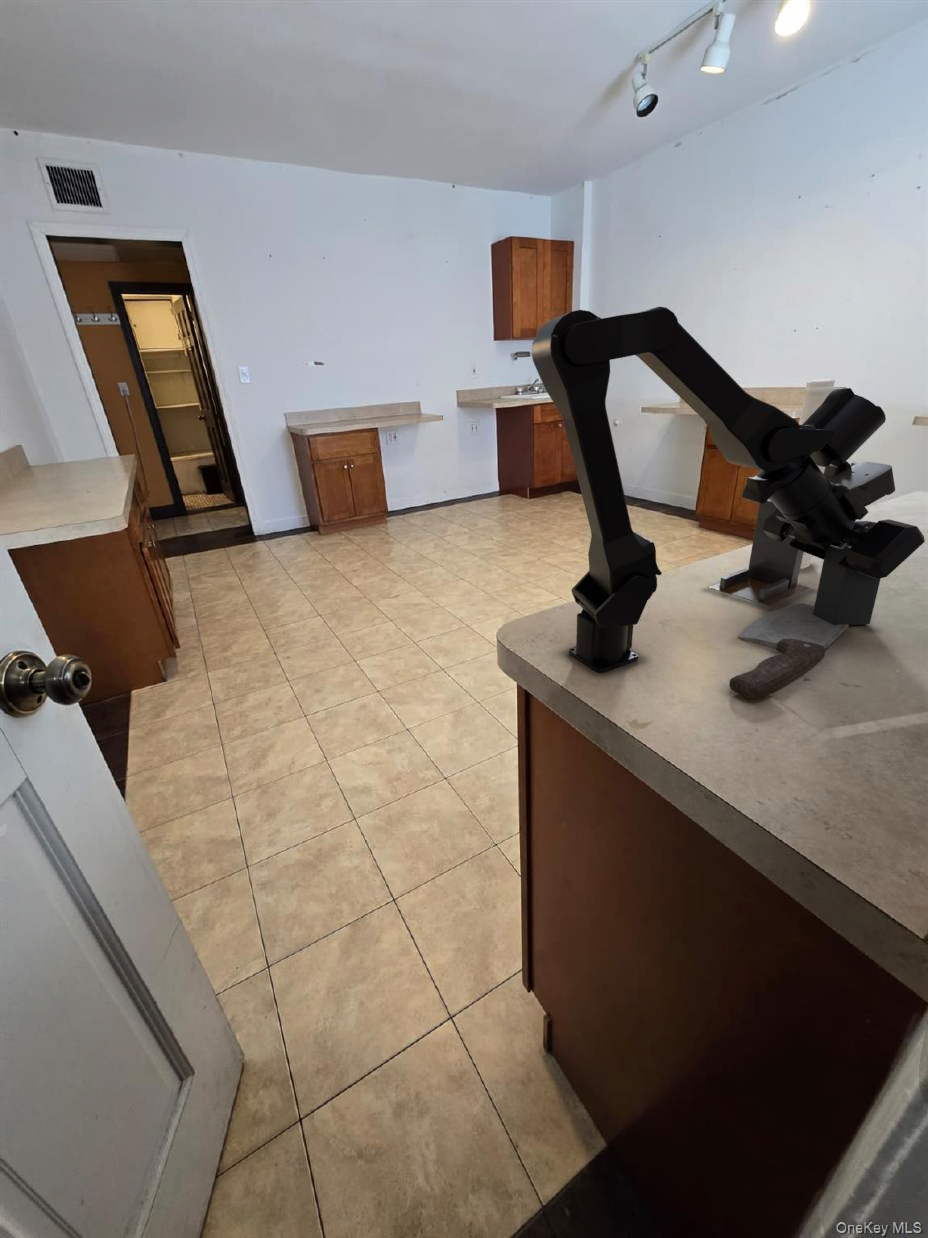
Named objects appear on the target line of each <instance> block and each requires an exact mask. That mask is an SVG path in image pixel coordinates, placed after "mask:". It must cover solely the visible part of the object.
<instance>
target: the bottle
mask: <svg viewBox="0 0 928 1238" xmlns="http://www.w3.org/2000/svg"><path fill="white" fill-rule="evenodd" d="M835 383H836V380H835V379H834V378H824V379H823V378H822V379H809V380H808V381H806V385H805V388H804V390H803V394H804V396H803V400H802V406H801V411H800V416H799V420H798V423H799V425H802V424H803V423H804V422H805V421H806V420H807V419H808V418H809V417H810V416H811V415H812V414H813V413H814V412H815V411H816V410H817V409H818V408H819V407H820V405H821V404H822V403H823V402H824V400H825V399H826V397H827V396H828V395H829V394H830V393H831V392H832V391H833V390H834V389H835V388H836V387H835ZM817 466H818V465H817ZM818 467H819V469H820V470H821V471H822V473H823V474H824V470H825V467H822V466H818ZM813 557H814V556H813V555H810V554H808V553H805V552H804V553H803V558H802V562H801V567H800V570H802V569H803V570H804V569H806V568H809V567H810V566H811V562H812V560H813Z"/></svg>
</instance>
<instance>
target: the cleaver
mask: <svg viewBox="0 0 928 1238" xmlns="http://www.w3.org/2000/svg"><path fill="white" fill-rule="evenodd" d="M814 606H815V605H812V604H811V605H810V604H806V603H802V602H801V603H800V602H793V603H790V604H788V605H786V606H782V607H781V608H777V609H776V610H774V611H771V612H769V613H767V614H765V615H763V616H762V617H760V618H758V619H756V620H754V621H753V622H752V623H750V624H749V625H748V626H747V627H746V628H744V629H743V631H742V632H741V633H740V634H739V635H738V636H737V637H738V638H739V639H741V640H744V641H746V642H748V643H752V644H757V645H760V646H764V647H767V648H770V649H773V650H776V651H778V652H779V654H776V655H772V656H770V657H768V658H765V659H763V660H761V661H760V662H759V663H758V664H757V665H756V667H755V668H753V669H752V670H749V671H746V672H743V673H740V674H737V675H735V676H733V677H732V678H730V679H729V682H728V683H729V685H728V686H729V689H730V691H732V692H734V693H736V694H739V695H741V696H744V697H746V698H748V699H749V698H750V699H759V698H762V697H764V696H767V695H769V694H771V693H773V692H775V691H777V690H780V689H781V688H782V687H784V686H786V685H787V684H789V683H791V682H793V681H795V680H796V679H797V678H799V677H800V676H802V675H803V674H805V673H806V672H808V671H810V669H812V668H813V667H814V666H816V665H817V664H818V663H820V662H821V660H823V658H824V657H825V654H826V649H828V648H829V647H830V646H832V644H833V643H834V642H835V641H836V640H837V639H838V638H840V636H841V635H843V633H845V631H846V630H847V629H848V628H849V626H850V625H848V624H841V625H833V624H831V623H829V622H827V621H825V620H823V619H821V618H819V617H817V616H815V615H813V611H814Z"/></svg>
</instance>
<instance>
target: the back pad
mask: <svg viewBox="0 0 928 1238" xmlns="http://www.w3.org/2000/svg"><path fill="white" fill-rule="evenodd" d="M868 522H871V521H869V520H858V521H857V520H856V521H855V523H857V524H860V525H864V524H866V523H868ZM873 522H874V523H877V521H873ZM848 550H849V548H848V547H846V548H844V549H838V548H835V547H833V546H829V547H828V548H827V549H826V551H825V556H824V560H823V561H822V567H821V572H820V577H819V581H818V587H817V592H816V597H815V602H814V605H813V606H814V611H813V615H815V616H817V617H819V618H821V619H823V620H825V621H827V622H829V623H831V624H833V625H841V624H848V625H849V626H859V625H870V624H871V621H872V616H873V612H874V607H875V603H876V600H877V595H878V591H879V587H880V583H881V579H882V578H880V579H876V580H875V579H873V578H870V577H868V576H865V575H862V574H860V573H857V572H855V571H852V570H850V569H847V568H845V567H842V566H840V565H838V563H839V562H840V561H841V560H842V559H843V558H844V557H845V556H846V555H847V554H848V552H847V551H848Z"/></svg>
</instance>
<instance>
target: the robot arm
mask: <svg viewBox="0 0 928 1238" xmlns="http://www.w3.org/2000/svg"><path fill="white" fill-rule="evenodd" d="M632 356H636V357H637V358H639V360H640V361H642V362H643V364H644V365H646V366H647V367H648V368H649V369H650V370H651V371H652V372H653V373H654V374H655V375H656V376H657V377H658V378H659V379H660V380H661V381H662V382H664V383H665V385H666V386H668V387H669V388H670V389H671V390H672V391H673V392H674V394H676V395H677V396H678V397H679V398H680V399H682V400H683V402H684V403H685V404H687V406H688V407H690V408H691V409H692V410H693V411H694V412H695V413H696V414H697V415H698V416H699V417H700V418H701V419H702V420H703V421H704V423H705V424H706V425H707V427H708V429H709V432H710V436H711V440H712V442H713V444H714V445H715V447H716V448H717V450H718V451H719V453H720V454H721V456H722V457H723V458H724V459H725V461H726V462H728V463H729V464H731V465H734V466H739V467H745V468H748V469H752V470H753V469H755V470H759V472H758V473H757V474H756V475H755V476H752V477H751V476H749V477H747V478H746V480H745V481H746V484H745V487H744V488H743V491H742V494H741V498H742V499H744V500H746V501H749V502H752V503H756V504H764V503H765V502H766V501H767V500H768V499H770V500H771V501H772V502H773V504H774V505H775V506H776V507H777V509H776V510H775V511H774V512H773V513H772V514H771V515H770V516H769V517H768V518H767V519H766V520H765V521H764V526H763V531H764V532H765V533H766V534H767V535H768V537H769V538H771V539H774V540H777V541H779V542H782V543H783V542H784V541H785V540H786V538H787V537H786V536H788V537H791V538H792V539H793V540H792V541H791V542H790V543H789V546H790V547H792V548H795V549H798V550H800V551H803V552H805V553H808V554H810V555H813V557H816V558H818V559H821V560H823V561H824V556H825V551H826V549H827V548H828V547H829V546H833V547H835V548H838V549H844V548H846V547H848V548H849V550H848V551H847V552H848V554H847V555H846V556H845V557H844V558H843V559H842V560H841V561H840V562H839V563H838V565H840V566H842V567H845V568H847V569H850V570H852V571H855V572H857V573H860V574H862V575H865V576H868V577H870V578H873V579H875V580H876V579H880V578H881V579H884V578H887V577H889V576H890V574H892V573H893V572H894V571H895V570H896V569H897V568H898V567H900V566H901V564H902V563H904V562H905V561H906V560H907V559H908V558H909V557H910V556H912V554H913V553H914V552H915V551H917V550H918V549H919V548H920V547H921V546H922V545H923V544H924V543H925V542H926V540H925V535H924V534H923V533H922V532H921V530H920V528H919V527H918V526H917V525H913V524H909V523H905V522H903V521H897V520H894V519H890V518H889V519H882V520H878V521H876V523H874V522H875V521H870V522H868V523H866V524H864V525H860V524H857V523H855V521H857V520H858V521H862V519H864V517H865V516H866V515H868V514H869V510H868V509H867V508H866V507H868V506H870V505H871V504H873V503H874V502H877V501H878V500H880V499H882V498H884V497H886V496H890V495H892V494H893V493H895V492H896V483H895V479H894V477H895V476H894V471H893V466H892V465H890V464H886V463H879V462H872V461H861V462H858V461H852V462H851V463H850V462H848V460H849V459H850V458H851V457H852V456H853V455H854V454H855V453H856V452H857V451H858V450H859V449H860V448H861V447H862V446H863V445H864V444H865V443H866V442H867V441H868V440H869V439H870V438H871V437H872V436H873V435H874V434H875V433H876V432H877V431H878V430H879V429H880V428H881V427H882V426H883V425H884V424H885V423H886V419H887V418H886V414H885V411H884V410H883V408H882V407H881V406H879V405H876V404H875V403H873V402H872V401H871V400H869V399H867V398H866V397H864V396H861V395H858V394H855V392H854V391H853V389H852V388H851V387H834V388H835V389H834V390H833V391H832V392H831V393H830V394H829V395H828V396H827V397H826V399H825V400H824V402H823V403H822V404H821V405H820V407H819V408H818V409H817V410H816V411H815V412H814V413H813V414H812V415H811V416H810V417H809V418H808V419H807V420H806V421H805V422H804V423H803V424H802V425H799V421H798V420H796V419H795V418H793V417H792V416H791V415H789V414H788V413H785V412H784V411H783V410H781V409H780V408H778V407H777V406H775V405H772V404H770V403H767V402H765V401H763V400H761V399H758V398H756V397H755V396H753V395H751V394H749V393H747V392H746V390H745V389H744V388H743V387H742V386H741V385H739V383H737V382H736V380H735V379H734V378H733V377H732V376H731V375H730V374H729V373H728V372H727V371H726V370H725V369H724V368H723V366H721V364H719V363H718V362H717V361H716V360H715V358H713V356H712V355H711V354H710V353H709V352H708V351H707V350H706V349H705V348H704V347H703V345H701V344H700V342H698V341H697V340H696V339H695V338H694V336H692V334H690V333H689V332H688V331H687V329H685V327H683V326H682V325H681V323H679V320H678V318H677V316H676V314H675V312H674V311H672V310H671V309H669V308H668V307H664V306H656V307H652V308H650V309H646V310H643V311H639V312H633V313H632V312H631V313H626V314H619V315H614V316H608V317H603V318H602V317H601V316H598V315H596V314H595V313H593V312H592V311H589V310H584V309H577V310H572V311H569V312H567V313H564V314H562V315H559V316H557V317H555V318H552V319H550V320H549V321H546V322H545V323H544V324H543V325H542V326H541V327H540V329H538V331H537V332H536V334H535V337H534V339H533V341H532V343H531V358H532V362H533V365H534V367H535V369H536V372H537V373H538V376H539V378H540V380H541V382H542V385H543V387H544V389H545V392H546V393H547V395H548V396H549V397H550V400H551V401H552V403H553V404H554V405H555V407H556V409H557V410H558V412H559V414H560V417H561V418H562V422H563V425H564V430H565V433H566V437H567V442H568V445H569V446H568V447H569V449H570V453H571V454H570V455H571V458H572V462H573V465H574V469H575V473H576V477H577V481H578V485H579V488H580V493H581V497H582V502H583V504H584V505H583V506H584V509H585V513H586V517H587V521H588V525H589V529H590V535H591V537H590V542H589V548H588V551H587V552H588V555H587V557H588V571H587V572H586V573H585V574H584V575H583V576H582V577H581V578H580V580H579V581H577V583H576V584H575V585H574V586H573V587H572V588H571V593H572V597H573V599H574V603H576V605H579V606H580V608H581V609H582V610H581V612H579V613H576V638H575V639H576V641H575V642H576V643H575V646H573V647H570V648H568V654H569V655H571V656H572V657H574V658H576V659H577V660H579V661H580V662H582V663H583V664H585V665H587V666H588V667H589V668H591V669H592V670H594V671H596V672H597V673H604V672H607V671H609V670H612V669H615V668H618V667H620V666H624V665H625V664H629V663H632V662H634V661H637V660H639V653H636V652H634V651H633V650H631V649H632V647H633V633H634V625H638V623H639V621H640V619H641V617H642V616H643V615H642V614H643V612H644V609H645V608H646V606H647V603H648V601H649V600H651V598H652V596H653V595H654V593H656V592H657V589H658V577H657V576H662V574H663V573H662V571H661V570H660V569H659V566H658V564H657V549H656V545H655V542H654V541H652V540H650V539H648V538H646V537H644V536H642V535H641V534H639V533H637V532H635V531H634V530H633V528H632V524H631V519H630V515H629V509H628V505H627V500H626V496H625V490H624V487H623V481H622V477H621V472H620V467H619V463H618V458H617V452H616V449H615V444H614V440H613V439H614V438H613V435H612V430H611V426H610V421H609V416H608V412H607V411H608V410H607V405H606V401H607V400H606V399H607V394H608V388H609V382H610V376H611V361H612V360H617V359H621V358H622V359H623V358H628V357H632ZM817 465H818V466H822V467H825V470H824V474H823V473H822V471H821V470H820V469H819V467H818V466H817ZM791 525H792V526H791ZM790 526H791V527H790ZM789 527H790V528H789ZM788 528H789V529H788ZM787 529H788V530H787ZM786 530H787V531H786ZM785 531H786V532H785ZM784 532H785V533H784ZM783 533H784V534H785V535H786V536H785V535H784V534H783ZM881 579H880V580H881Z"/></svg>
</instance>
